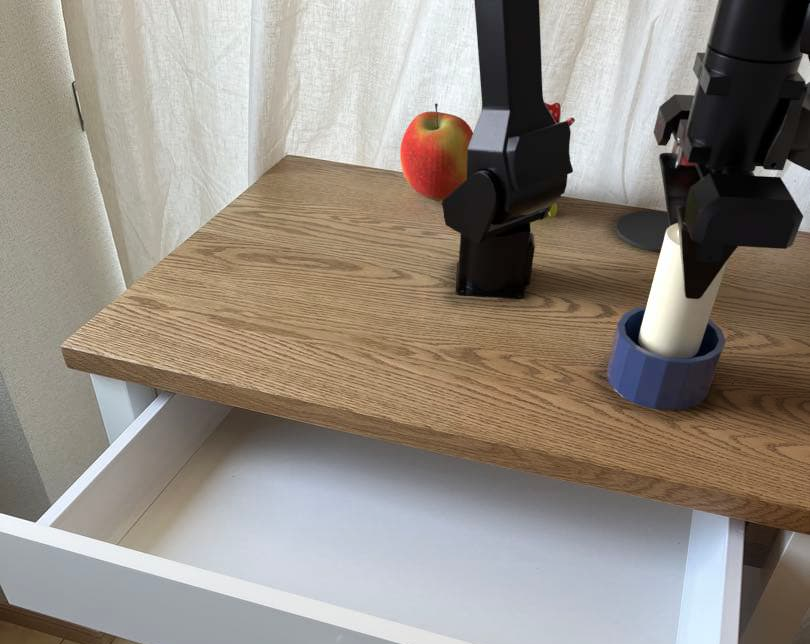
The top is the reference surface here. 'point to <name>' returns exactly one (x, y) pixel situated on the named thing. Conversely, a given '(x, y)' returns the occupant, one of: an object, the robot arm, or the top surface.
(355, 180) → the top surface
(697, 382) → the cup
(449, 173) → the apple
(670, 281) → the cream cylinder
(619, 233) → the coaster
